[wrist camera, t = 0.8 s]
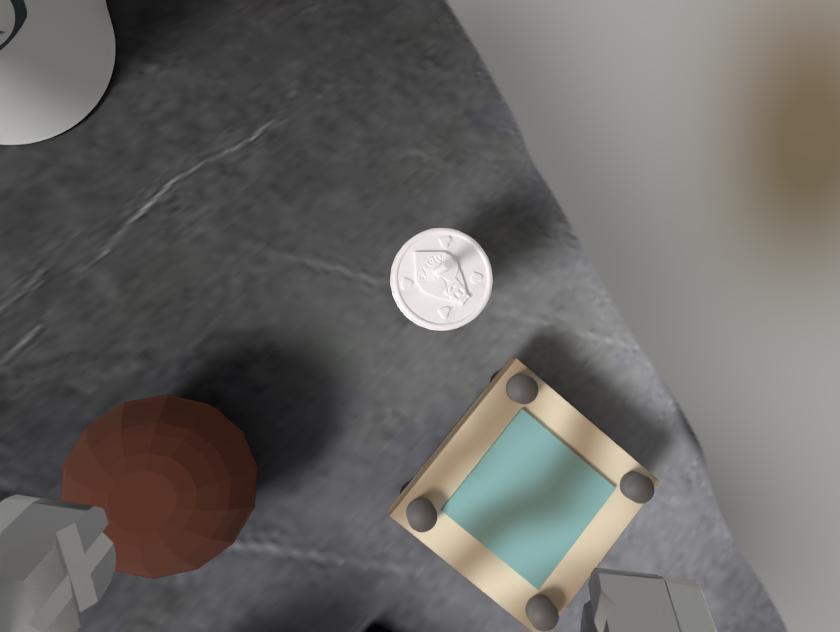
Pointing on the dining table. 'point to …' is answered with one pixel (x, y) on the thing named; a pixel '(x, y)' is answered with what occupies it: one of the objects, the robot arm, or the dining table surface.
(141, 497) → the muffin
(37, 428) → the dining table surface
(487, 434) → the peg shelf
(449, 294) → the smoothie
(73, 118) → the robot arm
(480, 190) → the dining table surface
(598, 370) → the dining table surface
